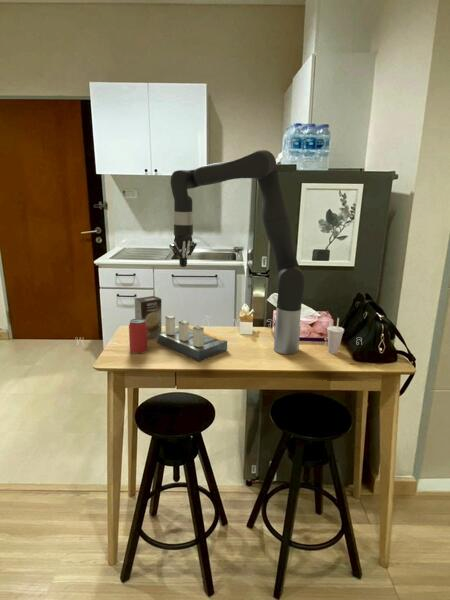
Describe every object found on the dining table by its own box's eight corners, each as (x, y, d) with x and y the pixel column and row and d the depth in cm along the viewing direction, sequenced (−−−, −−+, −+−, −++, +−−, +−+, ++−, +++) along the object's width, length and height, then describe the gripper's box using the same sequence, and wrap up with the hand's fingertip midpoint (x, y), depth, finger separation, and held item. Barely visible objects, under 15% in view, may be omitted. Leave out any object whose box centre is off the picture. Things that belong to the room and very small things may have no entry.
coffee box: (142, 340, 164) (141, 302, 159) (135, 335, 169) (133, 298, 164) (162, 335, 170) (161, 298, 165) (154, 331, 174) (153, 295, 170)
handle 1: (170, 331, 162) (170, 315, 160) (175, 333, 160) (175, 317, 158) (165, 333, 160) (165, 316, 158) (170, 335, 158) (170, 318, 156)
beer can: (130, 347, 157) (129, 318, 153) (147, 346, 158) (146, 317, 154) (129, 354, 150) (128, 323, 147) (147, 353, 152) (146, 323, 148)
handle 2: (197, 343, 151) (198, 325, 150) (203, 345, 150) (203, 327, 148) (193, 344, 150) (193, 327, 148) (198, 347, 148) (198, 329, 146)
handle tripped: (183, 337, 157) (183, 320, 155) (188, 339, 155) (188, 322, 153) (178, 338, 155) (178, 321, 153) (183, 341, 153) (184, 323, 151)
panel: (185, 334, 172) (185, 324, 171) (227, 350, 156) (227, 340, 155) (157, 343, 161) (157, 333, 160) (198, 362, 146) (198, 351, 145)
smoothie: (342, 356, 155) (346, 321, 151) (324, 354, 156) (328, 319, 152) (340, 349, 161) (344, 316, 157) (324, 348, 162) (327, 314, 158)
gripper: (176, 225, 152) (176, 270, 157) (202, 223, 162) (201, 266, 166) (163, 223, 157) (164, 267, 162) (189, 221, 166) (189, 263, 171)
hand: (183, 266), depth 164 cm, fingers closed
